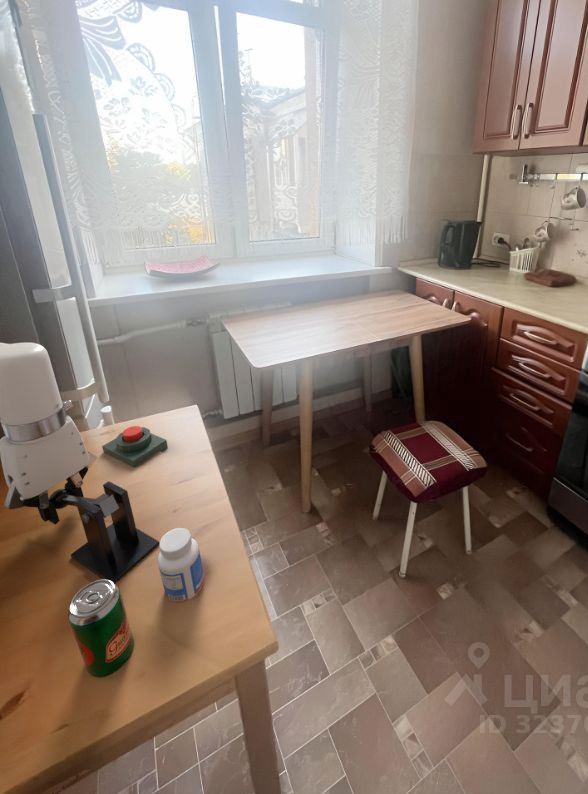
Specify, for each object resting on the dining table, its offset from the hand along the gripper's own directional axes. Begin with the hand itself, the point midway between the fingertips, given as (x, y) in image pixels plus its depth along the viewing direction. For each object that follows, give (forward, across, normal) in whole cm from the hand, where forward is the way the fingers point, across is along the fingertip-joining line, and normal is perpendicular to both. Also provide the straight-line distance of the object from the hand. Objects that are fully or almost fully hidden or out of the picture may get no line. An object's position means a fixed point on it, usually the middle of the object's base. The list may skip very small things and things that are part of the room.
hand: (64, 511), depth 67 cm
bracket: (+2, 0, +13) cm, 13 cm away
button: (-1, -18, -7) cm, 19 cm away
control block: (+2, -18, -7) cm, 19 cm away
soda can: (+3, +10, +27) cm, 29 cm away
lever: (-4, 0, +7) cm, 8 cm away
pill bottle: (+3, -1, +27) cm, 27 cm away
